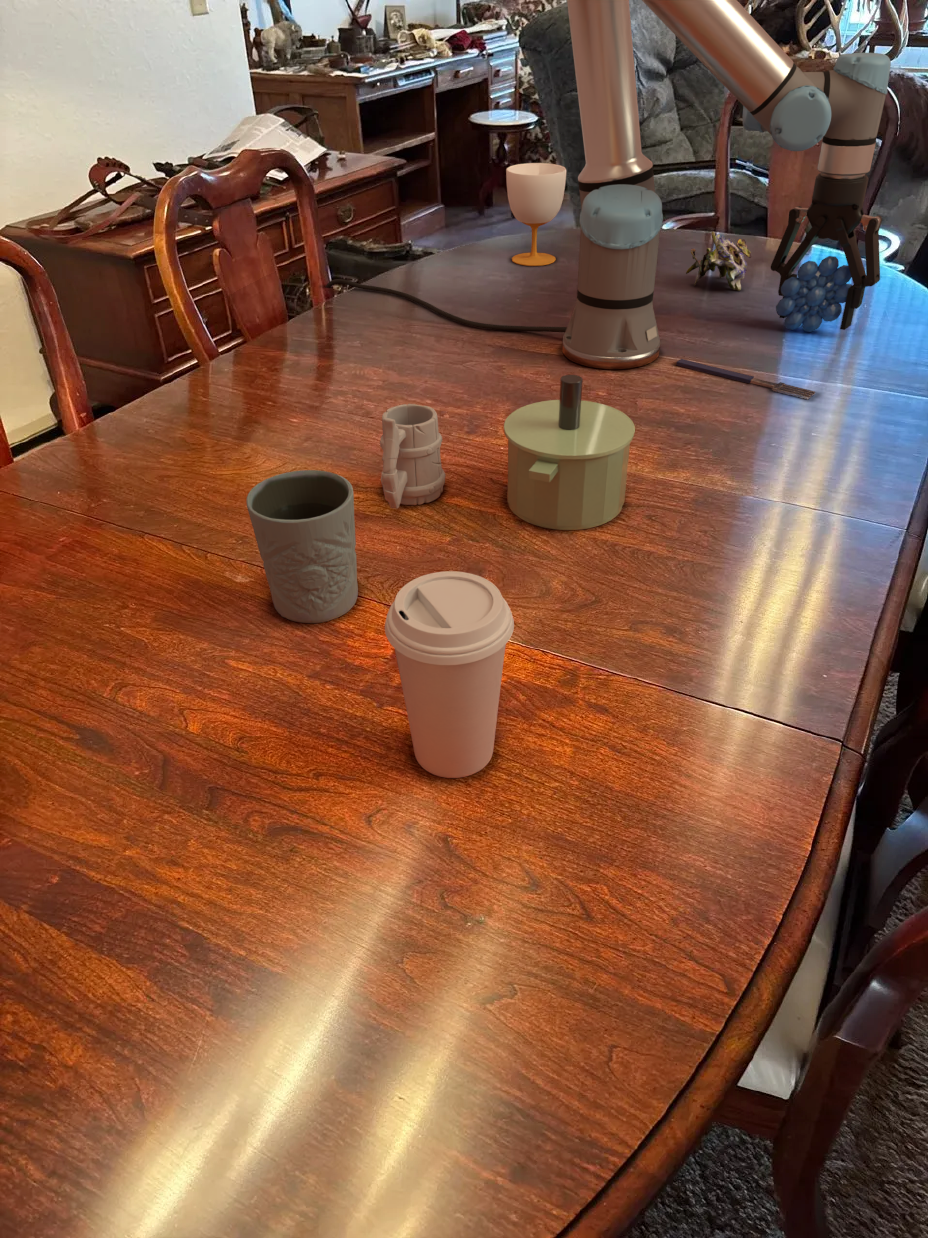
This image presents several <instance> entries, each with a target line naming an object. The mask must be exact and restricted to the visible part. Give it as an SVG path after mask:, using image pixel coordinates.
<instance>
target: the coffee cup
mask: <svg viewBox="0 0 928 1238" xmlns="http://www.w3.org/2000/svg"><path fill="white" fill-rule="evenodd" d="M514 630H515V620H514V616H513V613H512V609H511V608H510V606H509V604H508V601H507V600H506V599H505V597H503V595H502V592H501V591H500V589H499V588H498V587H497V586H496V585H495V584H494V583H493V582H491V581H490V580H488V579H486V578H484V577H482V576H480V575H478V574H474V573H471V572H465V571H456V570H448V571H447V570H446V571H445V570H444V571H437V572H431V573H427V574H423V575H421V576H418V577H416V578H414V579H412V580H410V581H408V582H407V583H405V584H404V585H403V586H402V587H401V588H400V589H399V590H398V592H397V593H396V596H395V598H394V601H393V602H392V603H391V605H390V607H389V609H388V611H387V613H386V618H385V622H384V633H385V636H386V638H387V641H388V642H389V644H390V645H391V646H392V647H393V648H394V653H395V657H396V662H397V668H398V673H399V678H400V684H401V688H402V689H401V690H402V695H403V699H404V705H405V709H406V716H407V720H408V726H409V732H410V736H411V742H412V747H413V752H414V757H415V759H416V761H417V763H418V764H419V766H421V768H422V769H423V770H425V771H426V772H428V773H430V774H432V775H434V776H436V777H441V778H447V779H459V778H465V777H468V776H472V775H474V774H476V773H479V772H480V771H482V770H483V769H484V768H486V766H487V765H488V764H489V763H490V761H491V760H492V757H493V754H494V748H495V740H496V739H495V738H496V730H497V728H496V727H497V721H498V713H499V704H500V695H501V687H502V679H503V669H504V661H505V653H506V647H507V643H508V642H509V641H510V639H511V638H512V636H513V633H514Z"/></svg>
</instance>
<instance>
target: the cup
mask: <svg viewBox="0 0 928 1238" xmlns="http://www.w3.org/2000/svg"><path fill="white" fill-rule="evenodd" d="M505 173H506V175H505V178H506V191H507V200H508V204H509V208H510V209H509V210H510V211H511V213H512V215H513V217H514V218H515V219H516V220H517V221H518V222H520V223H521V224H524V225H526V226H528V227H530V229H531V246H530V247H531V248H530V252H523V253H518V254H516V255H513V256H512V257H511V261H512V263H514V264H516V265H519V266H524V267H525V266H527V267H542V266H548V265H551V264H554V263H555V262H556V260H557V259H556V257H555V256H554V255H552V254H549V253H547V252H546V253H545V252H538V249H537V248H538V247H537V246H538V245H537V243H538V242H537V241H538V240H537V239H538V229H539V227H541V226H544V225H546V224H547V223H549V222H551V221H552V220H554V219H555V218H556V217H557V216H558V213H559V212H560V210H561V208H562V205H563V204H562V203H563V200H564V194H565V189H566V181H567V168H566V167H565V166H563V165H560V164H554V163H548V162H547V163H546V162H526V163H518V164H517V163H516V164H513V165H510V166H508V167H506V169H505Z"/></svg>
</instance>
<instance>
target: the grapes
mask: <svg viewBox="0 0 928 1238" xmlns="http://www.w3.org/2000/svg"><path fill="white" fill-rule="evenodd" d="M839 265H840V262H839V259H838V258H837V257H836V256H833V255H829V256H827V257H824V258H823V259H821V261H820V263H819V264H818V263H817V262H816V261H814V260H808V261H806V262H804V263H802V264H801V265H800V267H798V270H797V278H796V277H791V278H789V279H787V280H785V282H784V283H783V285H782V286H781V293H782V294H783V296H786V297H784V298H783V296H782V298H781V299H779V300H778V302H777V304H776V305H775V312H776V314H777V315H778V316H780V315H781V316H786V315H787V317H785V318H784V320H783V321H784V322H783V323H784V327H785V328H786V329H787V330H796V329H798V328H799V327H801V328H802V329H803V330H804V332H808V333H812V332H815V331H816V330H818V329H819V328H820V327H821V325H822V324H823V321H824V322H833V321H835V320H837V319H838V318H839V317H840V316H841V314H842V312H843V307H842V304H845V303H846V298H847V293H848V288H850V287H851V286H852V285H853V284H851V283H849V282H850V280H852V277H851V273H850V270H849V267H848V264H847V265H846V264H843V265H841V266H839Z"/></svg>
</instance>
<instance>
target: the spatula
mask: <svg viewBox="0 0 928 1238" xmlns="http://www.w3.org/2000/svg"><path fill="white" fill-rule="evenodd" d="M675 364H676V366H678V367H682V368H684V369H689V370H693V371H697V372H701V373H705V374H709V375H712V376H717V377H721V378H725V379H730V380H733V381H738V382H741V383H746V384H751V385H757V386H761V387H764V388H769V389H771V391H772V392H775V393H780V394H783V395H787V396H791V397H796V398H800V399H804V400H810V399H811V398H812V397H813V396H814V395H816V391H815V390H811V389H807V388H802V387H798V386H795V385H790V384H786V383H785V382H781V381H780V382H778V383H776V382H771V381H768V380H763V379H759V378H756V377H755V376H753V375H749V374H746V373H741V372H738V371H733V370H729V369H725V368H720V367H717V366H713V365H709V364H704V363H701V362H696V361H692V360H688V359H683V358H680V359H678V360H677V361H676V362H675Z"/></svg>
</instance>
